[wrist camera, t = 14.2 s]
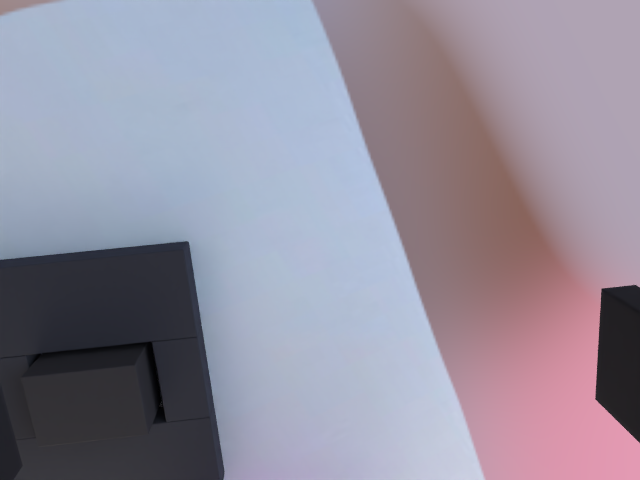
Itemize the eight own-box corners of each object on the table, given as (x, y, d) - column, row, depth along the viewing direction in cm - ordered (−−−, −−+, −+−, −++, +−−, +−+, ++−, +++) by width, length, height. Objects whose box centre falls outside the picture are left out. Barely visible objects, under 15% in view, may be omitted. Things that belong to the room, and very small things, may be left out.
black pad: (46, 348, 38) (19, 377, 34) (150, 337, 38) (135, 364, 34) (61, 412, 39) (37, 447, 35) (161, 401, 39) (148, 435, 35)
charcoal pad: (-29, 262, 36) (-47, 272, 34) (188, 240, 36) (183, 249, 34) (33, 495, 40) (21, 515, 39) (224, 472, 41) (221, 491, 39)
